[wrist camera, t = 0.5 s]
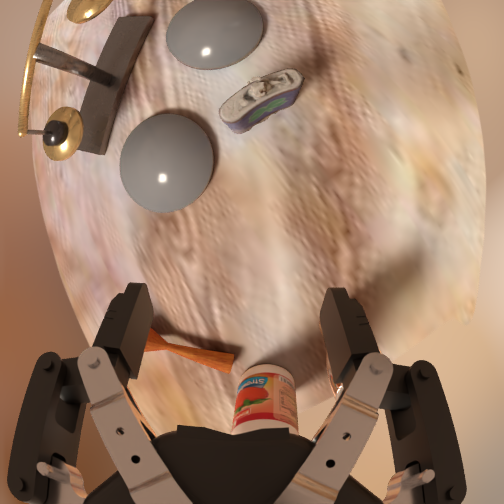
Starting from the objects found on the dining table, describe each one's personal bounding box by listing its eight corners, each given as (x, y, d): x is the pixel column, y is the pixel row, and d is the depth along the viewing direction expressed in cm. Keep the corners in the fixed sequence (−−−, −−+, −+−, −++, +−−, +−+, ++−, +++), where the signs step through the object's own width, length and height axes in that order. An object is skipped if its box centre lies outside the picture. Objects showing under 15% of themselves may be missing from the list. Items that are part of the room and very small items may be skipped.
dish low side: (138, 108, 32) (134, 106, 30) (227, 127, 32) (225, 126, 31) (115, 196, 35) (111, 198, 34) (197, 223, 36) (195, 225, 35)
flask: (237, 138, 32) (223, 124, 22) (225, 119, 32) (206, 99, 22) (300, 102, 31) (312, 75, 20) (287, 84, 30) (294, 51, 20)
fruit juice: (278, 405, 45) (277, 544, 18) (230, 390, 44) (204, 535, 18) (304, 372, 42) (321, 531, 15) (253, 354, 42) (234, 525, 15)
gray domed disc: (189, -5, 26) (187, -9, 24) (275, 7, 26) (275, 2, 25) (155, 63, 30) (152, 60, 28) (244, 79, 30) (244, 76, 29)
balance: (123, 15, 27) (51, -41, 8) (160, 14, 27) (95, -57, 8) (72, 155, 34) (-31, 163, 15) (105, 163, 34) (-3, 173, 15)
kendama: (224, 388, 39) (104, 350, 37) (228, 360, 45) (118, 326, 43) (234, 368, 37) (102, 326, 35) (237, 338, 42) (117, 301, 40)
